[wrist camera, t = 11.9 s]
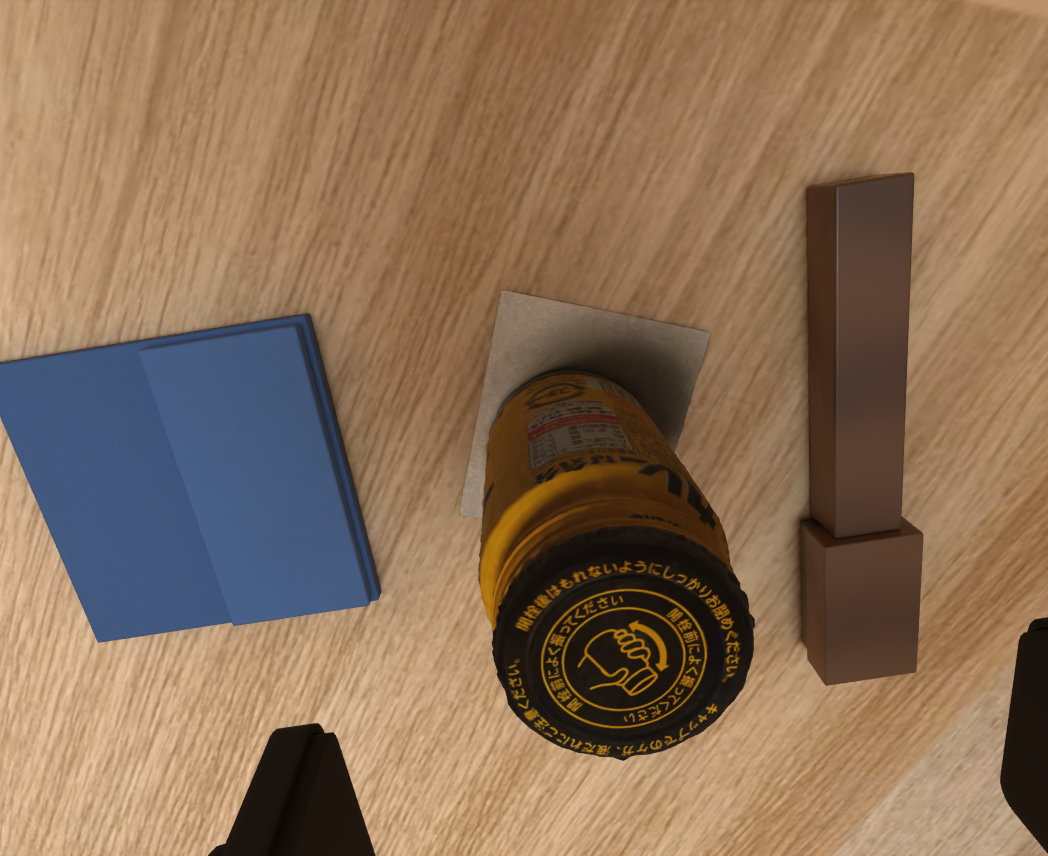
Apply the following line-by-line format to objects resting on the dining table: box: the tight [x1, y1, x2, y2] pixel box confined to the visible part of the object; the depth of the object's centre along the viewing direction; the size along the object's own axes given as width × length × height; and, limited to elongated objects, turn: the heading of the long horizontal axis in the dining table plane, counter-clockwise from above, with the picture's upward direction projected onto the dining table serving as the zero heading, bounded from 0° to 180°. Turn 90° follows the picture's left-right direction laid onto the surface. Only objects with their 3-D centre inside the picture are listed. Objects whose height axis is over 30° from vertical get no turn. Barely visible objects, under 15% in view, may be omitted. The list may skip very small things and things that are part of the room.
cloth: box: [0, 314, 381, 642], centre depth 24 cm, size 11×11×1 cm
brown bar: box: [800, 172, 923, 686], centre depth 23 cm, size 18×4×2 cm, turn 9°
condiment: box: [459, 290, 755, 761], centre depth 18 cm, size 7×8×12 cm
